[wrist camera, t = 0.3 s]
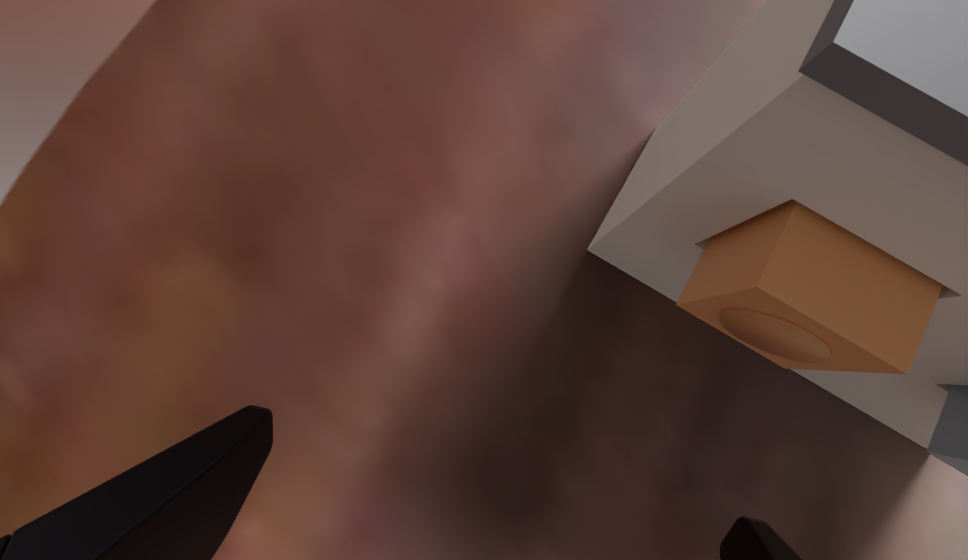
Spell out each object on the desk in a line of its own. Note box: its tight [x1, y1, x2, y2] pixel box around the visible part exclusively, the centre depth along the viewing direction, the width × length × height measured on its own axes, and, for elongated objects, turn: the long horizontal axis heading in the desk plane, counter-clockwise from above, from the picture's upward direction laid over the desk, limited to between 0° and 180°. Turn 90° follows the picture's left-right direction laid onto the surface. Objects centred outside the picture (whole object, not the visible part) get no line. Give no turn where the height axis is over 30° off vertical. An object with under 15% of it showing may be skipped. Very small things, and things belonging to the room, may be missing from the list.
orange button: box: [676, 199, 943, 374], centre depth 14 cm, size 4×4×4 cm
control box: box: [587, 0, 968, 449], centre depth 16 cm, size 8×20×16 cm, turn 59°
